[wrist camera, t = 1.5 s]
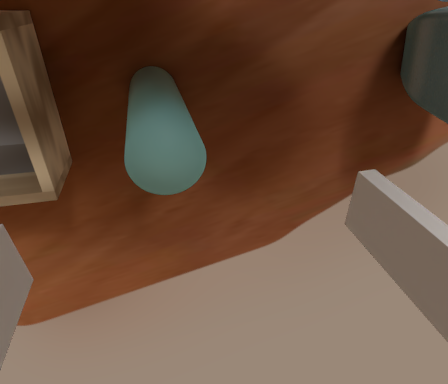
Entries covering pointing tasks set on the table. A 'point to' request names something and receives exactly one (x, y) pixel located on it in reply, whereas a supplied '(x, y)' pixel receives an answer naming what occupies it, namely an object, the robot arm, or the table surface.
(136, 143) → the peg
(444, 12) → the flower pot
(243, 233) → the table surface
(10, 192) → the crate
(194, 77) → the table surface
